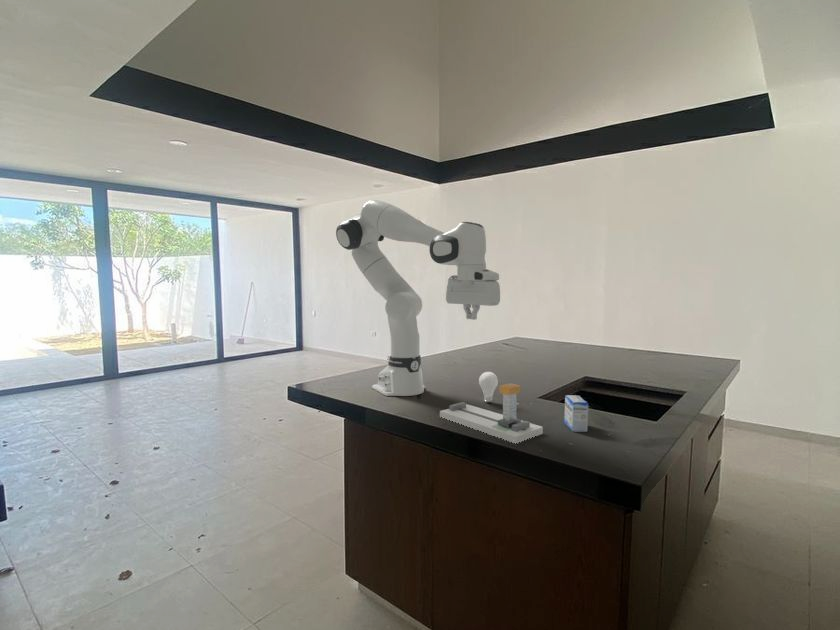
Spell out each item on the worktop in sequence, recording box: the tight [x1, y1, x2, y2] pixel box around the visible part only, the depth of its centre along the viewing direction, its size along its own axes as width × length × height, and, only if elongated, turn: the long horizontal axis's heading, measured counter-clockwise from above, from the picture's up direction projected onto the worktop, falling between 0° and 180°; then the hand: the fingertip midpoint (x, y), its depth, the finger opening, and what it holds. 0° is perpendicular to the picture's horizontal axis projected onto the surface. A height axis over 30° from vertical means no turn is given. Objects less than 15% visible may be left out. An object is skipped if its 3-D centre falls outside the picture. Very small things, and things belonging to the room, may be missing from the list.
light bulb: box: [478, 371, 499, 404], centre depth 155 cm, size 7×7×11 cm
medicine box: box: [563, 394, 589, 433], centre depth 129 cm, size 8×4×9 cm, turn 178°
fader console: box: [439, 401, 544, 445], centre depth 132 cm, size 30×12×4 cm, turn 40°
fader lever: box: [498, 382, 522, 428], centre depth 125 cm, size 4×6×11 cm
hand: (471, 319), depth 137 cm, fingers closed
